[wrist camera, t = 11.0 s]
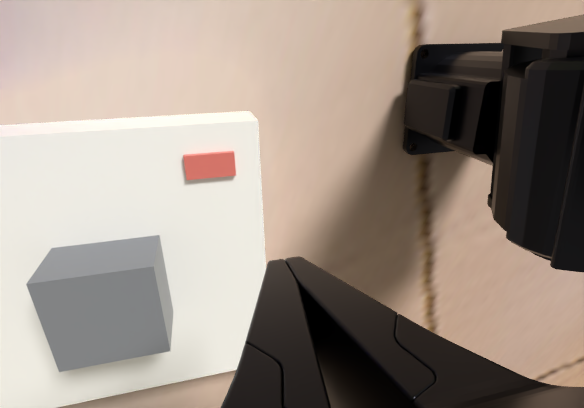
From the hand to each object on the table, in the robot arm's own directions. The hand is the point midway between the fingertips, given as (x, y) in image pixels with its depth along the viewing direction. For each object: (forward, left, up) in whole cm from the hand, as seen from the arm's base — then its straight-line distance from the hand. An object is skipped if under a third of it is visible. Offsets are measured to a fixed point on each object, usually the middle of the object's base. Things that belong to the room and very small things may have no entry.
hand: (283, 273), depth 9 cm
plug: (+7, +6, -13) cm, 16 cm away
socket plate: (+7, +6, -13) cm, 16 cm away
